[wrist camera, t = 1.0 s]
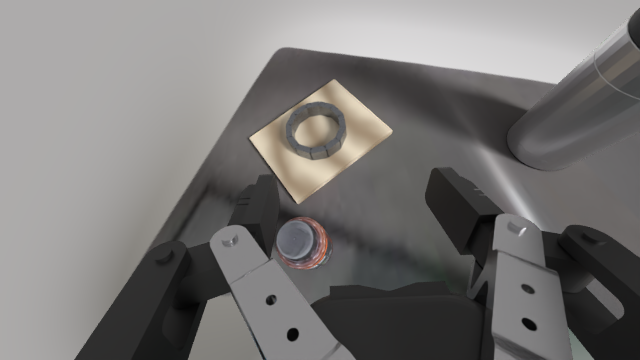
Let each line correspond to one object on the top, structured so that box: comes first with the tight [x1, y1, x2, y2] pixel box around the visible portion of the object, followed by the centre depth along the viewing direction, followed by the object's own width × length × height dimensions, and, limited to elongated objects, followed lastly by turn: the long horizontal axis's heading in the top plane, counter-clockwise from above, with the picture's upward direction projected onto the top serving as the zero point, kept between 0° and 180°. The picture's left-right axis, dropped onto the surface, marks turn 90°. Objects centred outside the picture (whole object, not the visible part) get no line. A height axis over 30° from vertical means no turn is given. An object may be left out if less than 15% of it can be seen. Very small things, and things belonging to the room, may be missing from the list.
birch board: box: [250, 79, 393, 204], centre depth 40 cm, size 20×16×1 cm
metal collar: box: [286, 101, 347, 161], centre depth 39 cm, size 10×10×2 cm
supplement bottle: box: [276, 217, 333, 269], centre depth 28 cm, size 6×6×11 cm
